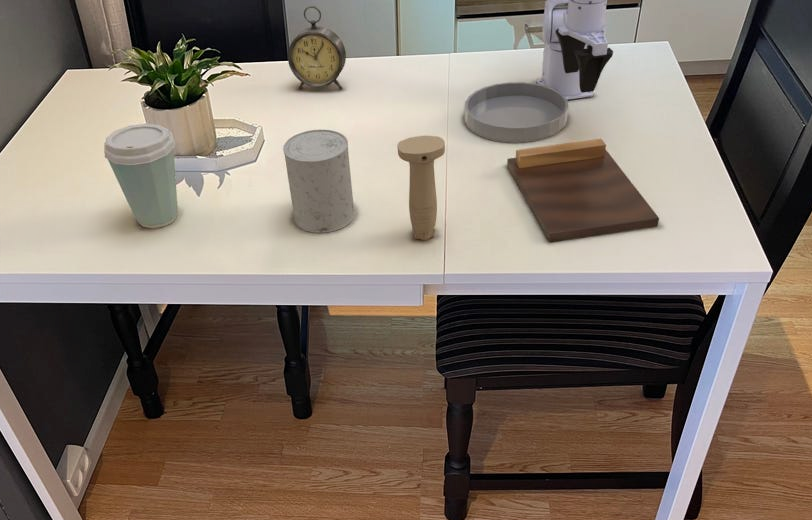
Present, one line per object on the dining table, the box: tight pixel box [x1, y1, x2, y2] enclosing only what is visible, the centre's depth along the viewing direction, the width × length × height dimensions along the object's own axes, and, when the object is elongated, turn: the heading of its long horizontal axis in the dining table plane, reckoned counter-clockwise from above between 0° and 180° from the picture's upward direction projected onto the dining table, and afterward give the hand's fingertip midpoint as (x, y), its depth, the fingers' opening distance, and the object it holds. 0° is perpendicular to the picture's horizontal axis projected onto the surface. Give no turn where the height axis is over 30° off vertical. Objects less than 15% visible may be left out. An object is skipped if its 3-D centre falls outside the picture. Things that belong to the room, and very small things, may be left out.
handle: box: [397, 135, 446, 242], centre depth 112 cm, size 5×6×15 cm
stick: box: [515, 138, 607, 168], centre depth 126 cm, size 2×14×2 cm, turn 97°
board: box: [506, 148, 660, 243], centre depth 121 cm, size 22×16×2 cm
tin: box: [464, 81, 569, 144], centre depth 141 cm, size 18×18×3 cm
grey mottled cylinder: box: [282, 129, 356, 234], centre depth 119 cm, size 10×10×12 cm
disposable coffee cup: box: [103, 123, 179, 229], centre depth 122 cm, size 11×11×15 cm
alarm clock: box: [287, 5, 347, 90], centre depth 154 cm, size 11×5×16 cm, turn 77°
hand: (579, 81), depth 130 cm, fingers open, 7 cm apart
